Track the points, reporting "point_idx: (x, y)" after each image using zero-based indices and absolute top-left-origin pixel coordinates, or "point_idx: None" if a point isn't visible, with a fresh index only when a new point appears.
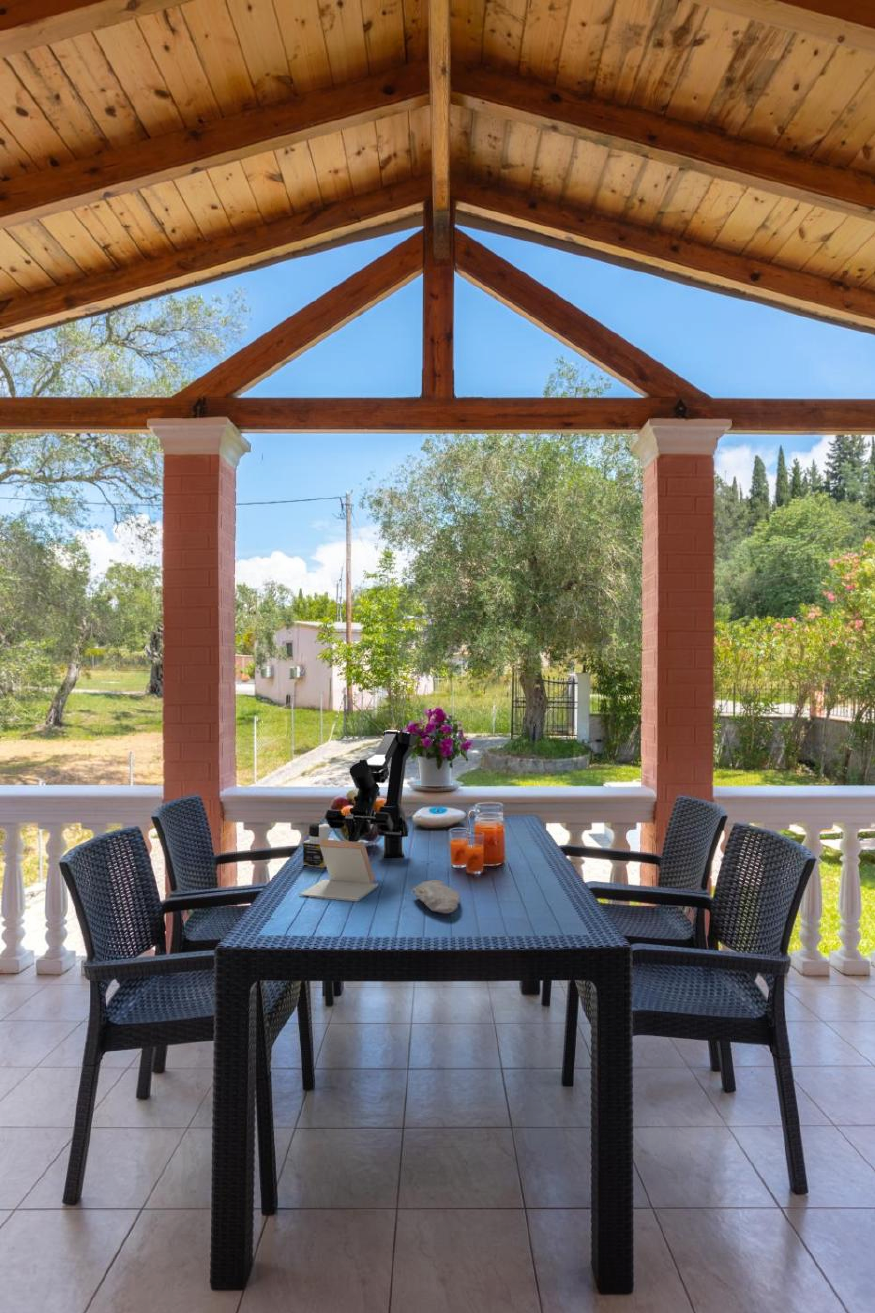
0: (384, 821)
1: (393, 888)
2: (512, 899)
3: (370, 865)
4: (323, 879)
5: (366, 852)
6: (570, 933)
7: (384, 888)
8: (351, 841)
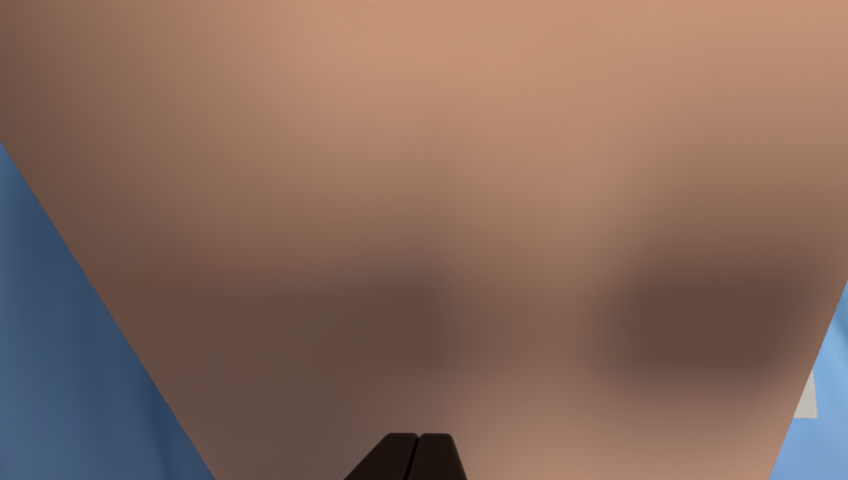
0: None
1: (44, 381)
2: None
3: (166, 396)
4: (816, 416)
5: (50, 203)
6: None
7: (120, 357)
8: (395, 476)
